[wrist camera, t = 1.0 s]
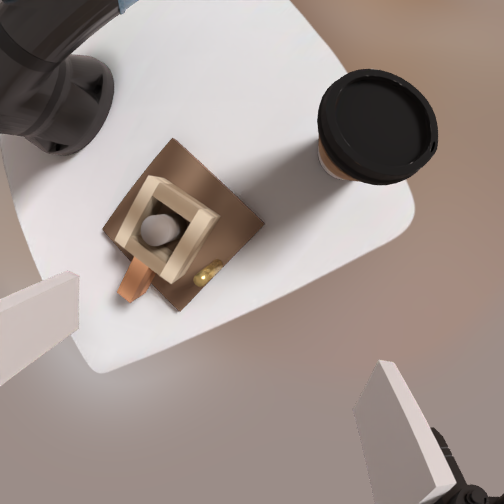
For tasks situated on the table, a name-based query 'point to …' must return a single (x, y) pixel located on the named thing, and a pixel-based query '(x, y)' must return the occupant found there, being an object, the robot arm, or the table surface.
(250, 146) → the table surface
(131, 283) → the hollow square frame
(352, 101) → the coffee cup
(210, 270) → the dowel
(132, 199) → the base
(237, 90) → the table surface
